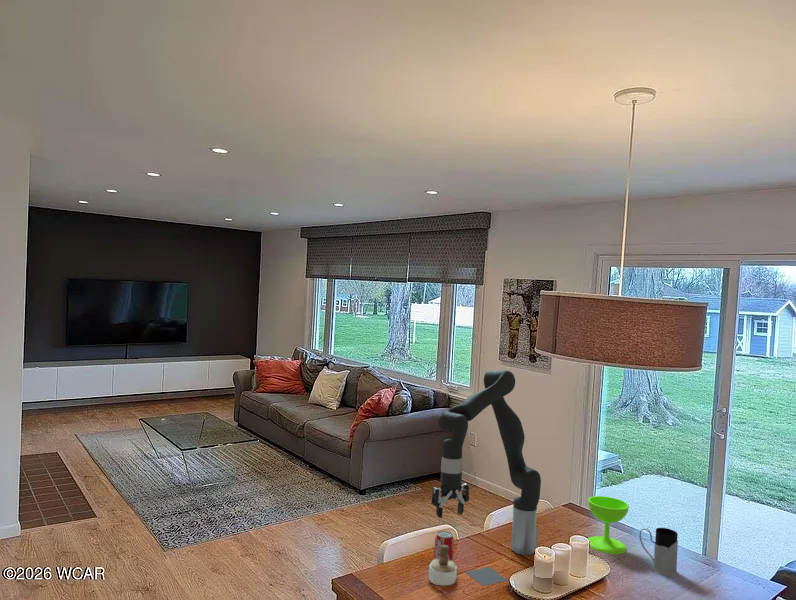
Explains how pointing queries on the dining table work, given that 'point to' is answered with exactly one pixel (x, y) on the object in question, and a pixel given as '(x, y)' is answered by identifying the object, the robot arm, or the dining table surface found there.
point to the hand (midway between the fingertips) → (449, 515)
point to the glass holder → (664, 551)
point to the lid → (443, 561)
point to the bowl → (442, 576)
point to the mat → (486, 576)
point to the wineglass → (607, 522)
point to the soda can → (444, 539)
